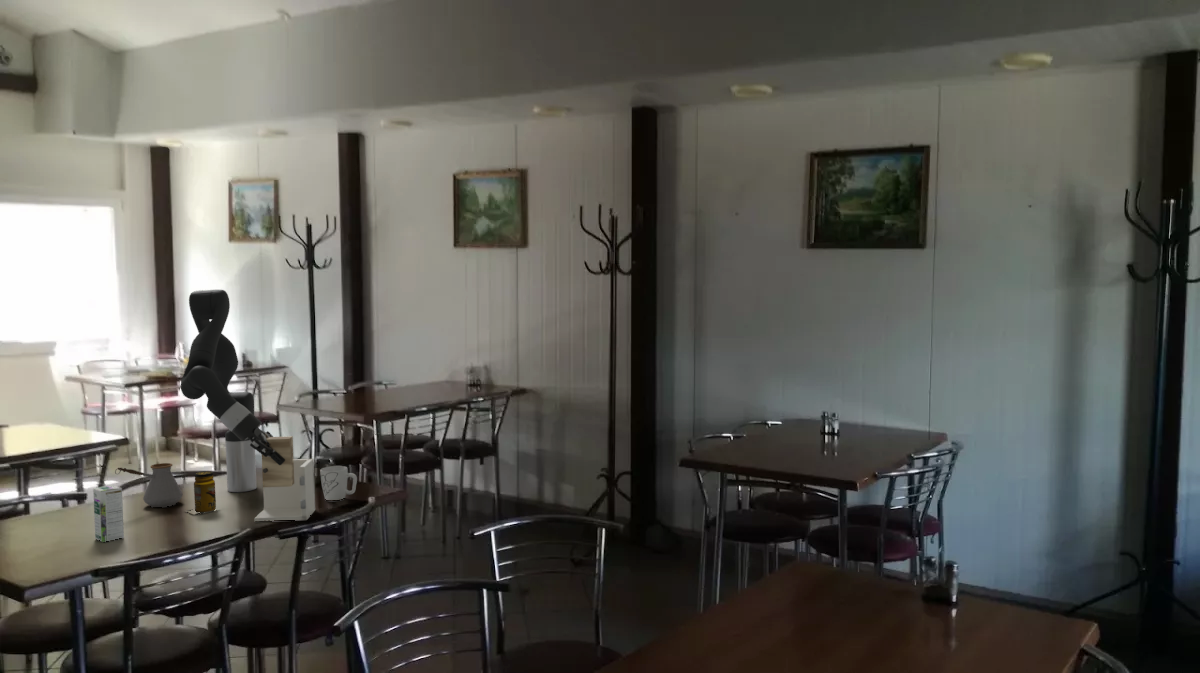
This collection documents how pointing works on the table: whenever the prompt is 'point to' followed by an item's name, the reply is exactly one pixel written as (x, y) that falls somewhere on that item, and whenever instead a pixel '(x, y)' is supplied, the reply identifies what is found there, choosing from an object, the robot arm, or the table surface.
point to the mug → (336, 482)
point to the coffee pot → (159, 486)
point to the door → (274, 472)
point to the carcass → (291, 496)
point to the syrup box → (108, 513)
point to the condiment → (204, 492)
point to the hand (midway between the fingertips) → (284, 461)
